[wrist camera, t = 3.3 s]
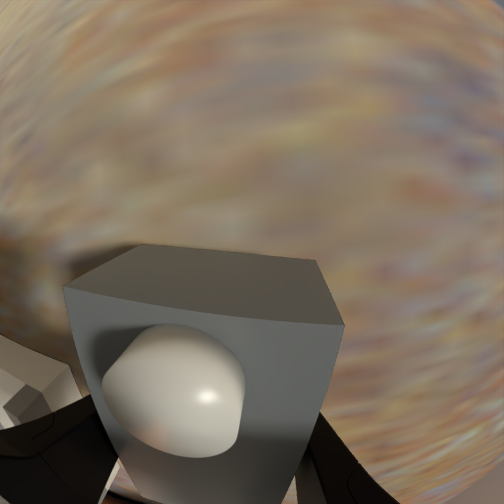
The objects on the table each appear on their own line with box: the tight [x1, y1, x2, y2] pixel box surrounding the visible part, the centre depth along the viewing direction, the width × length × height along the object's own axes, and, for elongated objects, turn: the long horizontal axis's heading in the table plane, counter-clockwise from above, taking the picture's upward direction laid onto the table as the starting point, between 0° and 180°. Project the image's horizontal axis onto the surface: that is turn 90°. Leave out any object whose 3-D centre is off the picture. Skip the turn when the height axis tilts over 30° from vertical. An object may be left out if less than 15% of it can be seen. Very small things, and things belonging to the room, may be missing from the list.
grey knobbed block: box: [63, 244, 345, 504], centre depth 7 cm, size 10×6×5 cm, turn 176°
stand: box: [0, 335, 120, 504], centre depth 12 cm, size 12×16×6 cm
